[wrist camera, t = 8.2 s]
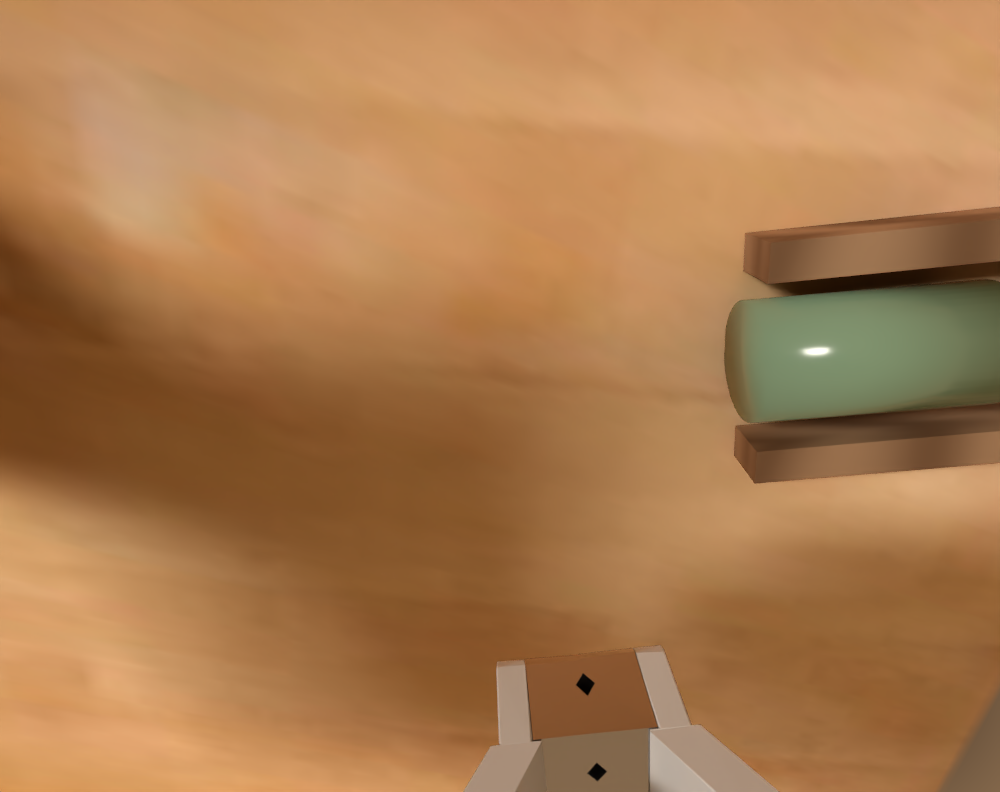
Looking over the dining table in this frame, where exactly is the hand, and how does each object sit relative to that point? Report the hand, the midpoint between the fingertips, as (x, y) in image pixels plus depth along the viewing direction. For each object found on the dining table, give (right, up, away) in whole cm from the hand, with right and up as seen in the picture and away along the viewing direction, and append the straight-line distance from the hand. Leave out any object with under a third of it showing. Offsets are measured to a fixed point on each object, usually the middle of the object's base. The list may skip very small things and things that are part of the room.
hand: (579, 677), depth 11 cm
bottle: (+8, +6, +13) cm, 16 cm away
